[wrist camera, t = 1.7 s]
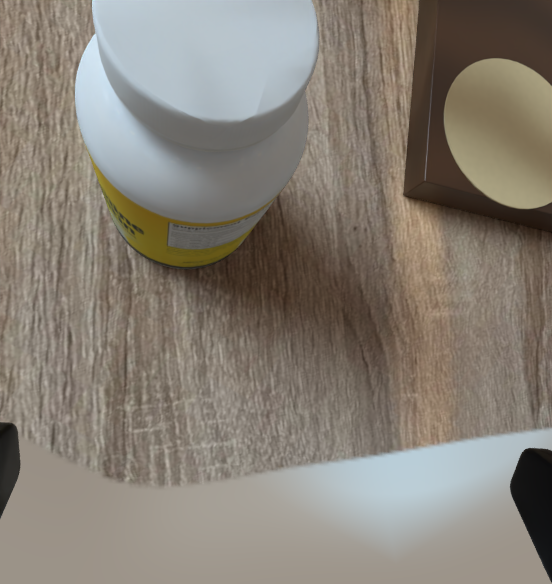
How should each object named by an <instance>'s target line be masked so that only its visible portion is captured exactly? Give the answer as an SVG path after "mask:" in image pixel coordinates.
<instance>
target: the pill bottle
mask: <svg viewBox="0 0 552 584" xmlns="http://www.w3.org/2000/svg"><path fill="white" fill-rule="evenodd" d="M92 12H93V21H94V26H95V31H96V33H95V34H94V36H93V37H92V39H91V40H90V42H89V44H88V46H87V47H86V49H85V51H84V53H83V56H82V58H81V61H80V64H79V68H78V72H77V76H76V84H75V105H76V114H77V119H78V123H79V127H80V130H81V134H82V136H83V139H84V142H85V145H86V148H87V150H88V153H89V156H90V159H91V161H92V164H93V167H94V170H95V172H96V175H97V178H98V181H99V183H100V186H101V189H102V192H103V195H104V198H105V200H106V203H107V206H108V209H109V212H110V214H111V217H112V220H113V222H114V224H115V226H116V228H117V230H118V231H119V233H120V234H121V236H122V237H123V238H124V240H125V241H126V242H127V243H128V244H129V245H130V246H131V247H132V248H133V249H134V250H135V251H136V252H138V253H139V254H140V255H142V256H143V257H145V258H147V259H148V260H150V261H152V262H154V263H157V264H160V265H163V266H166V267H171V268H177V269H195V268H201V267H206V266H209V265H212V264H214V263H217V262H219V261H221V260H223V259H224V258H226V257H228V256H229V255H230V254H231V253H233V252H234V251H235V250H236V249H237V248H238V247H239V246H240V245H241V244H242V243H243V241H244V240H245V239H246V237H247V236H248V235H249V233H250V232H251V231H252V229H253V228H254V227H255V225H256V224H257V223H258V221H259V220H260V219H261V218H262V216H263V215H264V214H265V212H266V211H267V210H268V208H269V207H270V206H271V204H272V203H273V202H274V200H275V199H276V198H277V196H278V195H279V194H280V193H281V191H282V190H283V189H284V187H285V186H286V184H287V183H288V182H289V180H290V179H291V177H292V175H293V174H294V172H295V170H296V168H297V166H298V164H299V162H300V159H301V157H302V154H303V151H304V148H305V144H306V139H307V133H308V104H307V98H306V94H305V89H306V87H307V85H308V83H309V81H310V79H311V77H312V75H313V72H314V69H315V66H316V62H317V58H318V52H319V28H318V22H317V16H316V12H315V9H314V6H313V3H312V1H311V0H92Z"/></svg>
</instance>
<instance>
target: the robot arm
mask: <svg viewBox="0 0 552 584" xmlns="http://www.w3.org/2000/svg"><path fill="white" fill-rule="evenodd" d="M19 471H20V453H19V441H18V431H17V428H16V426H15V425H14V424H13V423H5V422H0V518H1V516H2V513H3V511H4V509H5V507H6V504H7V502H8V500H9V497H10V495H11V493H12V490H13V488H14V486H15V483H16V481H17V479H18V475H19ZM510 490H511V494H512V497H513V500H514V502H515V504H516V506H517V509H518V511H519V513H520V515H521V517H522V520H523V522H524V524H525V526H526V528H527V531H528V533H529V535H530V537H531V539H532V542H533V544H534V546H535V548H536V550H537V553H538V555H539V557H540V559H541V561H542V564H543V566H544V568H545V570H546V572H547V574H548V576H549V578H550V580H551V582H552V451H551V450H548V449H537V448H528V449H525V450H524V451H523V452H522V454H521V456H520V458H519V461H518V464H517V466H516V470H515V472H514V474H513V477H512V479H511V484H510Z"/></svg>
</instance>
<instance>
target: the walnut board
mask: <svg viewBox="0 0 552 584" xmlns="http://www.w3.org/2000/svg"><path fill="white" fill-rule="evenodd" d="M403 195H404V196H408V197H412V198H416V199H420V200H424V201H428V202H432V203H436V204H440V205H444V206H448V207H452V208H456V209H460V210H464V211H468V212H472V213H476V214H480V215H484V216H488V217H492V218H496V219H500V220H504V221H509V222H513V223H517V224H521V225H525V226H529V227H533V228H537V229H541V230H545V231H549V232H552V0H420V1H419V13H418V25H417V37H416V49H415V61H414V73H413V85H412V97H411V109H410V121H409V133H408V145H407V157H406V169H405V181H404V193H403Z"/></svg>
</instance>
